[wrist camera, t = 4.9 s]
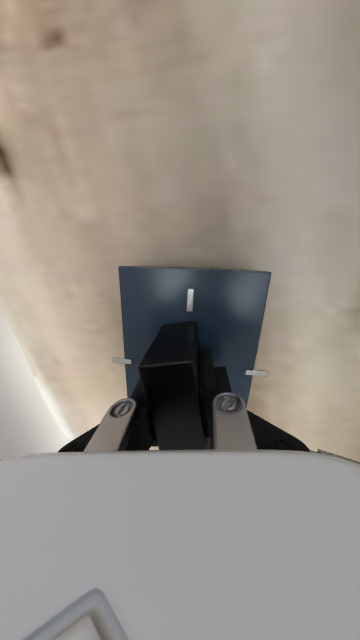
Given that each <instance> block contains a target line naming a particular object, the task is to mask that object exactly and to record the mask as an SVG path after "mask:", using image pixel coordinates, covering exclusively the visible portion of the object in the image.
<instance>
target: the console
mask: <svg viewBox="0 0 360 640" xmlns="http://www.w3.org/2000/svg"><path fill="white" fill-rule="evenodd" d="M270 278H271V272H266V271H256V270H232V269H206V268H180V267H153V266H119V280H120V295H121V310H122V324H123V339H124V353H125V358H116V357H113V358H112V361H113V363H123V364H125V368H126V382H127V397H128V398H130V396H131V394H132V393H133V391H134V389H135V387H136V385H137V383H138V381H139V379H140V374H139V371H138V365H139V363H140V361H141V360H142V358H143V356H144V355H145V353H146V352H147V350H148V348H149V347H150V345H151V343H152V342H153V340H154V339H155V337H156V335H157V334H158V332H159V330H160V329H161V327H162V326H163V325H164V324H172V323H180V322H188V321H196V324H197V330H198V337H199V344H200V351H203V348H211V354H212V362H213V367H221V366H226V370H227V374H228V378H229V382H230V386H231V390H232V392H233V393H236V394H238V395H240V396H241V397H242V398H243V400H244V402H245V406H246V407H247V402H248V396H249V391H250V385H251V380H252V375H254V376H265V377H267V373H268V372H267V371H263V370H253V369H254V364H255V359H256V353H257V348H258V342H259V337H260V332H261V326H262V321H263V315H264V310H265V305H266V299H267V294H268V289H269V283H270Z"/></svg>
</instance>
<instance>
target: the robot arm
mask: <svg viewBox="0 0 360 640" xmlns="http://www.w3.org/2000/svg"><path fill="white" fill-rule="evenodd" d="M200 395H201V401H202V408H203V414H204V420H205V427H206V433H207V438H210V440H211V444H212V445H213V446H214V450H149V448H150V447H151V446H158V443H157V439H156V435H155V431H154V427H153V424H152V420H151V416H150V412H149V408H148V405H147V401H146V397H145V393H144V389H143V386H142V382H141V378H140V379H139V381H138V383H137V385H136V387H135V389H134V391H133V393H132V394H131V396H130V398H125V399H121V400H119V401H117V402H115V403H114V404H113V405H112V406H111V407H110V408H109V409H108V411H107V413H106V414H105V416H104V418H103V419H102V421H101V423H100V424H99V425H97V426H96V427H94V428H92V429H91V430H89V431H87V432H86V433H84V434H83V435H81V436H79V437H78V438H76V439H74V440H73V441H71V442H70V443H68V444H67V445H65V446H64V447H63V448H61V449H60V450H59V451H58V452H57V453H41V454H27V455H20V456H14V457H10V458H6V459H2V460H0V640H360V462H358V461H354V460H351V459H348V458H345V457H342V456H338V455H335V454H332V453H329V452H326V451H323V450H319V449H318V452H315V451H312V450H309V448H308V447H307V446H306V445H305V444H304V443H303V442H301V441H300V440H298V439H297V438H295V437H293V436H292V435H290V434H288V433H286V432H285V431H283V430H281V429H279V428H278V427H276V426H274V425H272V424H271V423H269V422H267V421H265V420H264V419H262V418H260V417H258V416H257V415H255V414H253V413H251V412H250V411H248V410H246V406H245V402H244V400H243V398H242V397H241V396H240V395H238V394H236V393H233V392H232V390H231V386H230V382H229V378H228V374H227V370H226V366H221V367H213V362H212V354H211V348H203V351H200Z"/></svg>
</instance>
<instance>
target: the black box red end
mask: <svg viewBox="0 0 360 640" xmlns="http://www.w3.org/2000/svg"><path fill="white" fill-rule="evenodd" d="M138 371H139V374H140V378H141V382H142V386H143V389H144V393H145V397H146V401H147V405H148V408H149V412H150V416H151V420H152V424H153V427H154V431H155V435H156V439H157V443H158V446H159V450H211V445H210V438H207V433H206V427H205V420H204V414H203V408H202V401H201V395H200V344H199V337H198V330H197V324H196V321H188V322H180V323H172V324H164V325H163V326H162V327H161V329H160V330H159V332H158V334H157V335H156V337H155V339H154V340H153V342H152V343H151V345H150V347H149V348H148V350H147V352H146V353H145V355H144V356H143V358H142V360H141V361H140V363H139V365H138Z"/></svg>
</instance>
